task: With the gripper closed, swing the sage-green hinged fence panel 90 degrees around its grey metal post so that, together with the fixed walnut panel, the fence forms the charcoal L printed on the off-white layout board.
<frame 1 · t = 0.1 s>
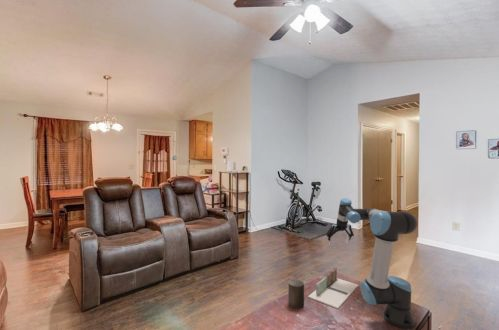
hand: (338, 243, 191), 28 cm above the table, tool tilted 20°, fingers open, 13 cm apart
fence fixed: (326, 288, 180), resting on layout board
game controller: (374, 294, 173), on the table
fence gate: (321, 285, 174), point 5 cm above the table, hinge at 0.0°
layout board: (334, 291, 176), on the table
pillar candle: (296, 304, 160), on the table
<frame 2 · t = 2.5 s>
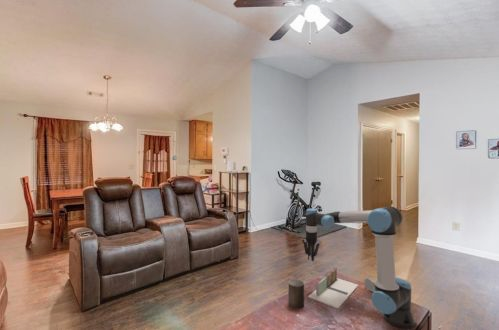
hand: (310, 264, 177), 18 cm above the table, tool pointing down, fingers closed
nothing on the table moved.
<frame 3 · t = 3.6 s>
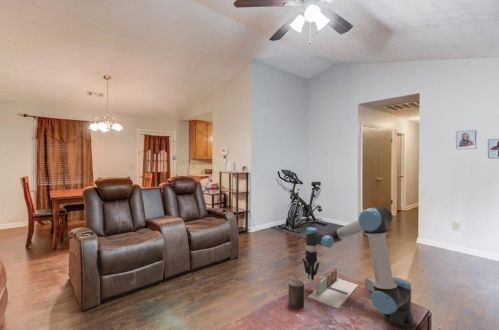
hand: (310, 283, 177), 4 cm above the table, tool pointing down, fingers closed
nothing on the table moved.
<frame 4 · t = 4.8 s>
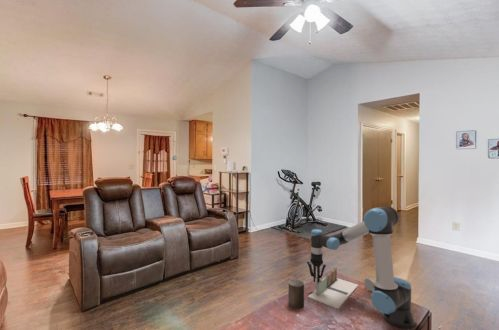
hand: (316, 286, 174), 4 cm above the table, tool pointing down, fingers closed
fence gate: (321, 285, 174), point 5 cm above the table, hinge at 0.1°, touching gripper
everything else where it was.
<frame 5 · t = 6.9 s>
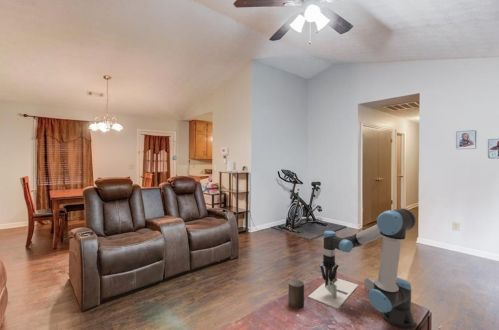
hand: (328, 289, 170), 4 cm above the table, tool pointing down, fingers closed
fence gate: (331, 286, 172), point 5 cm above the table, hinge at 44.9°, touching gripper
everything else where it was.
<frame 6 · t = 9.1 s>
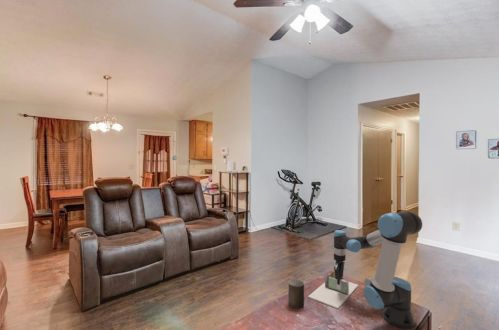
hand: (339, 288, 172), 4 cm above the table, tool pointing down, fingers closed
fence gate: (338, 284, 175), point 5 cm above the table, hinge at 90.3°, touching gripper
everything else where it was.
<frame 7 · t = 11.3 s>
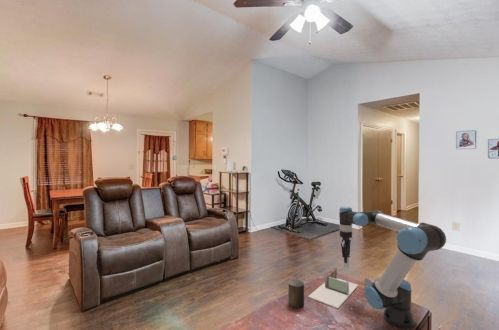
hand: (346, 267, 165), 21 cm above the table, tool pointing down, fingers closed
fence gate: (338, 284, 175), point 5 cm above the table, hinge at 90.6°
everything else where it was.
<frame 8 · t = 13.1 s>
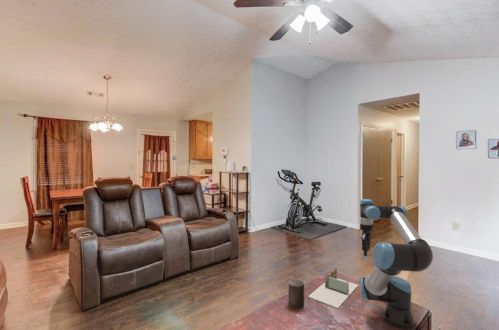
hand: (366, 260, 163), 26 cm above the table, tool pointing down, fingers closed
nothing on the table moved.
at the end: fence gate at +91° (first picture: +0°) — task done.
